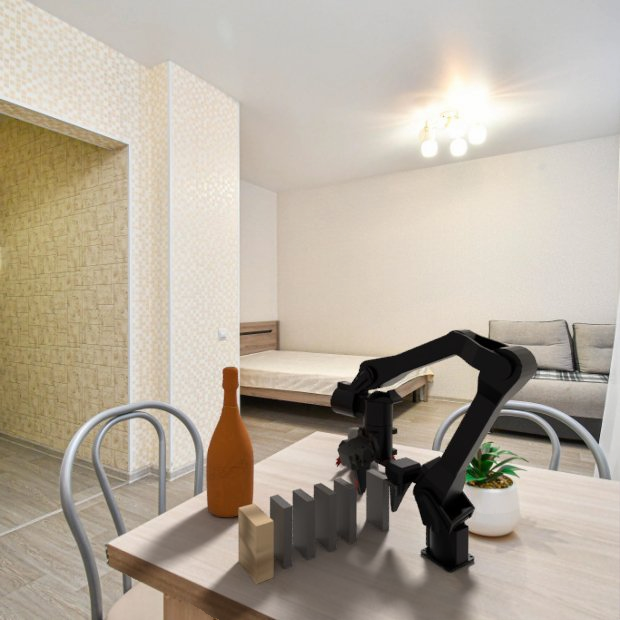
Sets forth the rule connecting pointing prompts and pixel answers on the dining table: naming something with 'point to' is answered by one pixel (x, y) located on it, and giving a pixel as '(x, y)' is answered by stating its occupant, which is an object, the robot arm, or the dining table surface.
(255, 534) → the end block
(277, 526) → the tile
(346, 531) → the tile
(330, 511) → the tile
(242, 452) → the wine bottle
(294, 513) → the tile
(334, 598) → the dining table surface
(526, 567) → the dining table surface
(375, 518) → the tile
